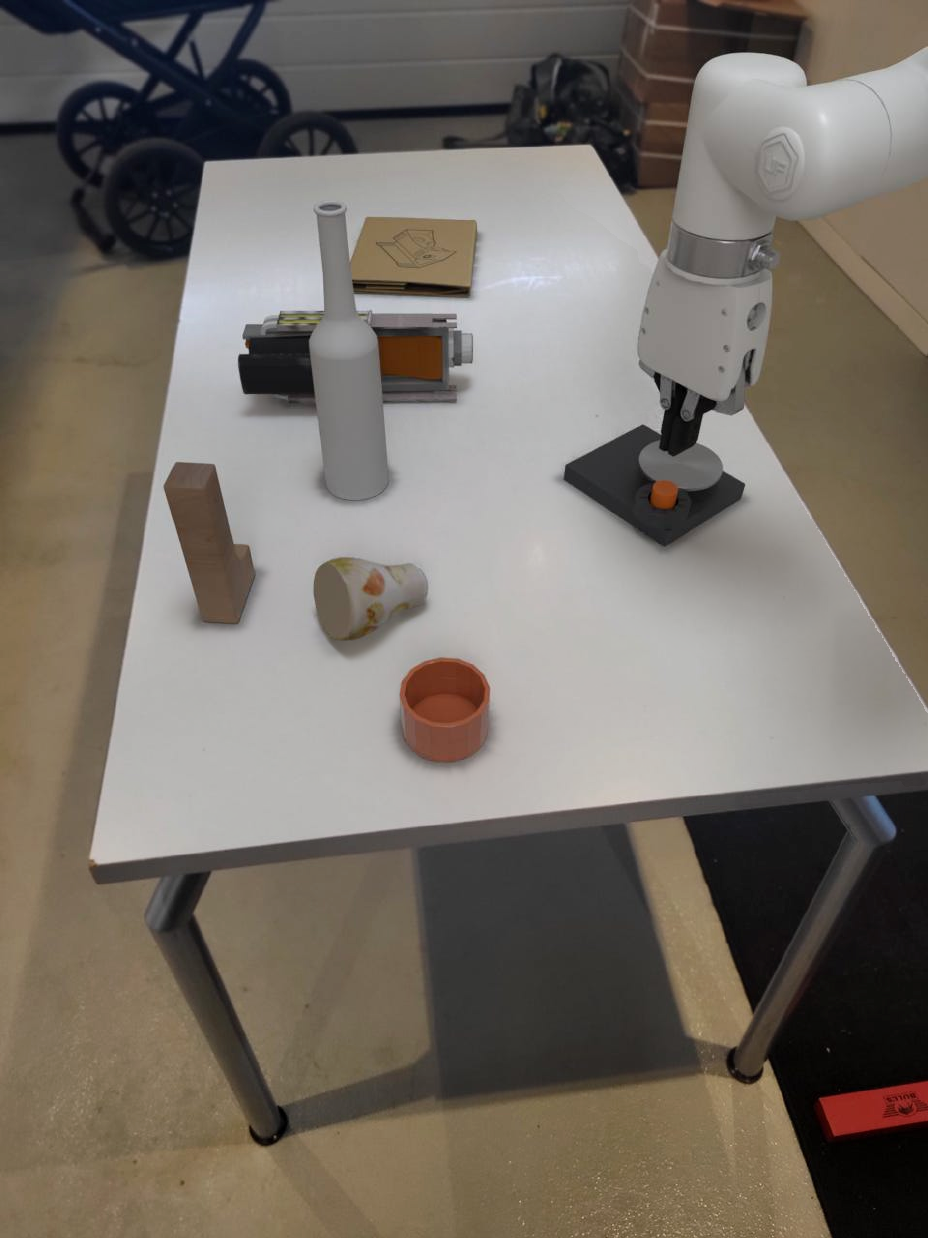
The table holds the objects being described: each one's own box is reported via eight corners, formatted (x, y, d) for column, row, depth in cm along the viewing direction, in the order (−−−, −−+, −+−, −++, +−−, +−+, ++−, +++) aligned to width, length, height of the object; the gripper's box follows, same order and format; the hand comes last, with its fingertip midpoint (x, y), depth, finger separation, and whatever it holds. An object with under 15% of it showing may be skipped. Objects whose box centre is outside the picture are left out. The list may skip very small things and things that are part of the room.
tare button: (680, 503, 85) (683, 488, 84) (663, 512, 84) (666, 498, 83) (661, 491, 87) (664, 476, 85) (644, 500, 86) (647, 486, 84)
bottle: (374, 505, 90) (351, 225, 70) (315, 493, 91) (275, 215, 71) (397, 468, 94) (382, 195, 74) (340, 457, 95) (310, 186, 75)
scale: (742, 499, 91) (751, 471, 88) (659, 551, 85) (665, 523, 83) (640, 438, 98) (645, 411, 96) (557, 482, 93) (560, 454, 90)
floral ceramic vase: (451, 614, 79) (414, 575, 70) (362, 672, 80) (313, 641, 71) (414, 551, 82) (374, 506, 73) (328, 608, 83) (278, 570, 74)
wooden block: (238, 624, 78) (203, 488, 67) (201, 622, 78) (161, 485, 67) (256, 574, 82) (226, 438, 72) (221, 572, 83) (187, 436, 72)
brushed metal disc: (739, 469, 89) (740, 466, 88) (684, 502, 85) (685, 499, 85) (675, 432, 93) (676, 429, 93) (620, 462, 89) (621, 459, 89)
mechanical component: (473, 418, 101) (474, 337, 94) (247, 419, 101) (232, 337, 93) (471, 375, 107) (472, 296, 100) (259, 375, 107) (245, 296, 100)
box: (470, 298, 122) (470, 282, 120) (344, 293, 122) (343, 277, 121) (478, 234, 137) (479, 219, 135) (366, 230, 137) (365, 215, 136)
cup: (505, 731, 70) (508, 695, 67) (438, 777, 67) (437, 742, 64) (451, 681, 74) (451, 644, 70) (385, 722, 71) (382, 686, 67)
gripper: (830, 264, 65) (769, 469, 78) (674, 205, 73) (643, 400, 86) (768, 293, 62) (715, 502, 75) (612, 228, 70) (589, 427, 83)
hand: (676, 447), depth 81 cm, fingers closed
